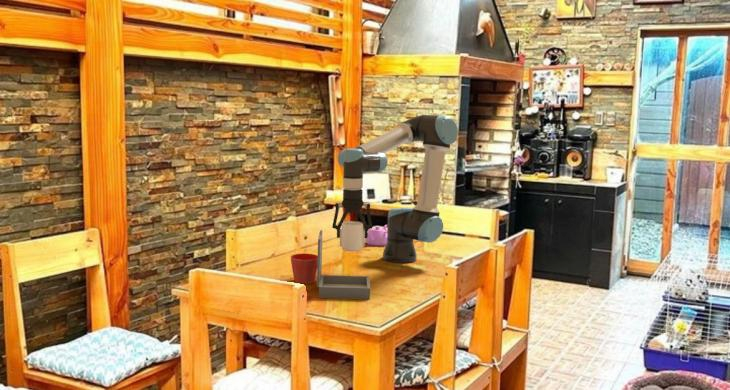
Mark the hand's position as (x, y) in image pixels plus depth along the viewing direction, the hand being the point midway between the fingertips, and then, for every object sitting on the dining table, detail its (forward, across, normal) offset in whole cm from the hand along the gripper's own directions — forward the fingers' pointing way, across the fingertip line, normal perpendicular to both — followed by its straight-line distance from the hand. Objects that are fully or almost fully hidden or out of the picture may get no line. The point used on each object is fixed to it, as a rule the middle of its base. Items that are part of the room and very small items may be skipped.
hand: (352, 245), depth 275 cm
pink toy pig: (+14, -12, -67) cm, 70 cm away
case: (+12, +3, +20) cm, 24 cm away
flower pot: (+13, +18, +7) cm, 23 cm away
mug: (+1, 0, 0) cm, 1 cm away
